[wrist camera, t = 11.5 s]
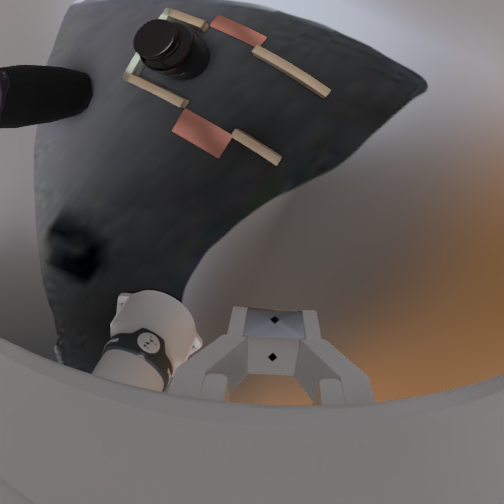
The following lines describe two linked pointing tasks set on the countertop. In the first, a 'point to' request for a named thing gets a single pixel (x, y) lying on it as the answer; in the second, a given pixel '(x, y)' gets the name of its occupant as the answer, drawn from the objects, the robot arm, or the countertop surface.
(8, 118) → the portable speaker
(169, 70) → the supplement bottle
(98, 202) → the countertop surface
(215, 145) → the channel
